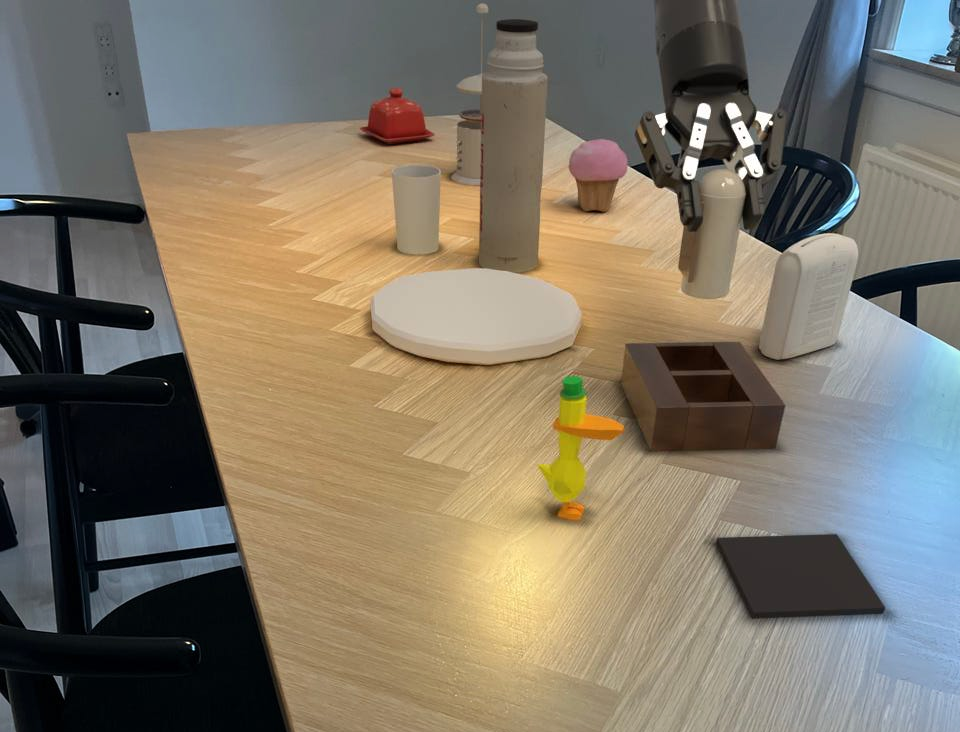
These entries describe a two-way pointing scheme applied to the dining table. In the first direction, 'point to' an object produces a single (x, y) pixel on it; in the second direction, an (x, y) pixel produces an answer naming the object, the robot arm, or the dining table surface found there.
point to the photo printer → (808, 296)
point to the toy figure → (574, 446)
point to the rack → (700, 397)
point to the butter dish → (396, 120)
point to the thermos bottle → (512, 149)
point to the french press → (470, 127)
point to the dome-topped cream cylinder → (713, 237)
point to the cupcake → (597, 172)
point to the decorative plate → (475, 316)
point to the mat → (798, 576)
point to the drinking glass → (417, 208)
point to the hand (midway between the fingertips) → (724, 225)
